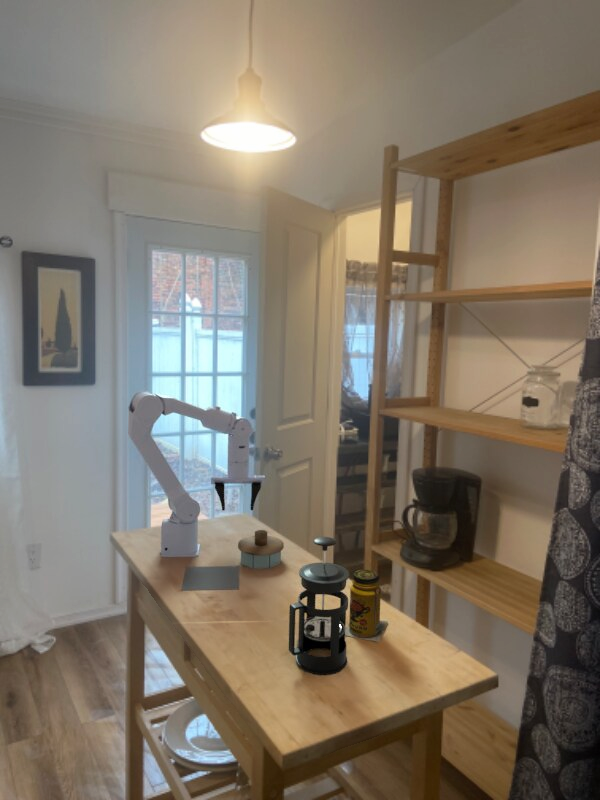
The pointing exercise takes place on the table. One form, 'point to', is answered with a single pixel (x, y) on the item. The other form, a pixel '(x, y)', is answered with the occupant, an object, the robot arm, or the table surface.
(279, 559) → the bowl
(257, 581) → the table surface
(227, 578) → the mat
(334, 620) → the french press
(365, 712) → the table surface
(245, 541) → the lid
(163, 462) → the robot arm
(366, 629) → the condiment
